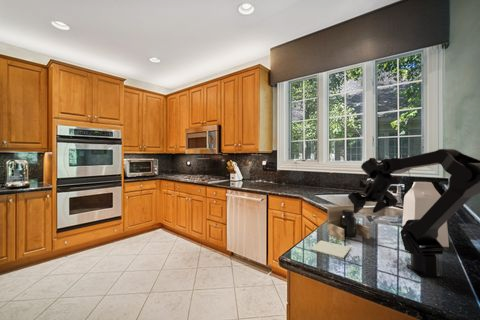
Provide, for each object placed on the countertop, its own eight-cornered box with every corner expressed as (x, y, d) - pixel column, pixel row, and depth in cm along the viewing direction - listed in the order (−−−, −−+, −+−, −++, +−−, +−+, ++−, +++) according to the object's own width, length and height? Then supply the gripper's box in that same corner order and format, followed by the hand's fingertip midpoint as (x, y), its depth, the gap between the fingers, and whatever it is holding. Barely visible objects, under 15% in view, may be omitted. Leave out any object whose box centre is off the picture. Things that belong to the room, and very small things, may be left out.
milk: (432, 237, 97) (431, 181, 98) (448, 247, 86) (447, 183, 87) (401, 235, 101) (401, 180, 101) (413, 243, 90) (413, 182, 90)
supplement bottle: (358, 238, 95) (358, 212, 96) (342, 237, 97) (342, 211, 97) (353, 233, 102) (353, 209, 102) (338, 233, 104) (338, 208, 104)
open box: (369, 238, 96) (369, 209, 96) (342, 240, 93) (341, 211, 93) (352, 231, 106) (352, 205, 107) (327, 232, 104) (327, 206, 104)
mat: (350, 248, 85) (350, 247, 85) (343, 258, 76) (343, 257, 76) (320, 241, 93) (320, 240, 93) (310, 249, 83) (310, 248, 83)
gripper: (387, 173, 91) (371, 198, 100) (347, 173, 89) (335, 199, 97) (406, 190, 82) (387, 217, 91) (363, 191, 80) (348, 218, 88)
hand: (364, 212), depth 92 cm, fingers open, 9 cm apart
